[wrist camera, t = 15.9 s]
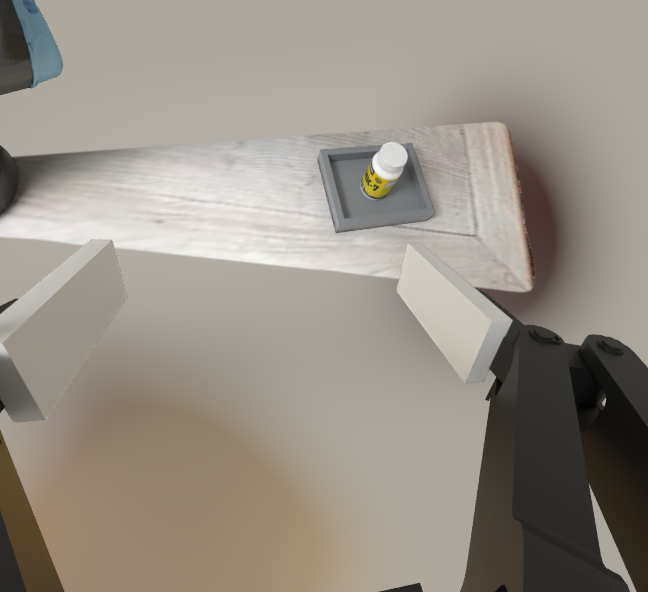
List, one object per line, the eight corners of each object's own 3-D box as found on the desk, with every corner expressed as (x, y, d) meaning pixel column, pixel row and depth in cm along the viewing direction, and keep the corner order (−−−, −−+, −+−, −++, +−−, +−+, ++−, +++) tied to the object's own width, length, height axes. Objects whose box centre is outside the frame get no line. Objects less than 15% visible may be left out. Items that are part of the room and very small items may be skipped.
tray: (335, 233, 49) (339, 225, 46) (317, 160, 51) (320, 149, 49) (426, 220, 52) (434, 213, 50) (405, 153, 55) (412, 143, 53)
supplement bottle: (354, 181, 51) (371, 145, 43) (377, 171, 52) (398, 134, 44) (369, 205, 50) (390, 173, 42) (392, 195, 51) (416, 161, 43)
